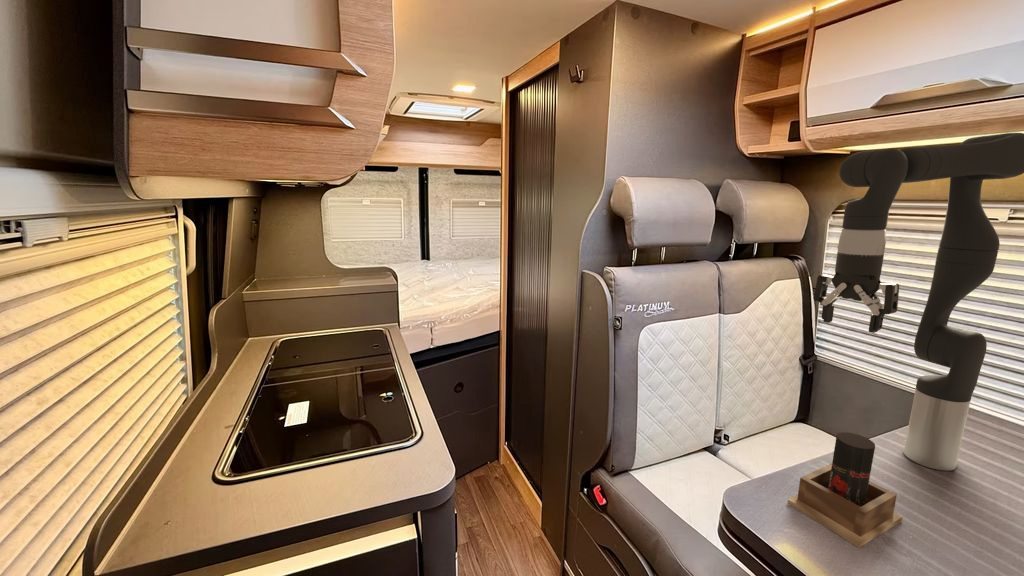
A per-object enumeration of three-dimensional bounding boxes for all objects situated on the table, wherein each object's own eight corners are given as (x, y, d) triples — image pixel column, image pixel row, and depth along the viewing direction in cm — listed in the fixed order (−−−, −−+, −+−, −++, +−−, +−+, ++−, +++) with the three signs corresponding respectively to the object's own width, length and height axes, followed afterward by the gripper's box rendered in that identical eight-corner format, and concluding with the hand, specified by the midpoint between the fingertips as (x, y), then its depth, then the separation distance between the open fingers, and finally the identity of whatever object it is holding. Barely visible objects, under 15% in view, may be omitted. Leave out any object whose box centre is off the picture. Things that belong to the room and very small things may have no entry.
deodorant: (869, 520, 83) (882, 450, 80) (835, 516, 84) (846, 447, 81) (852, 499, 89) (863, 433, 86) (820, 496, 90) (830, 430, 87)
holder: (829, 483, 96) (833, 458, 94) (901, 521, 84) (906, 494, 83) (787, 503, 89) (790, 477, 88) (859, 547, 78) (864, 519, 77)
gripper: (913, 253, 84) (899, 333, 87) (832, 247, 96) (823, 316, 99) (893, 256, 80) (880, 338, 84) (812, 249, 93) (803, 321, 96)
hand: (849, 326), depth 92 cm, fingers open, 8 cm apart
